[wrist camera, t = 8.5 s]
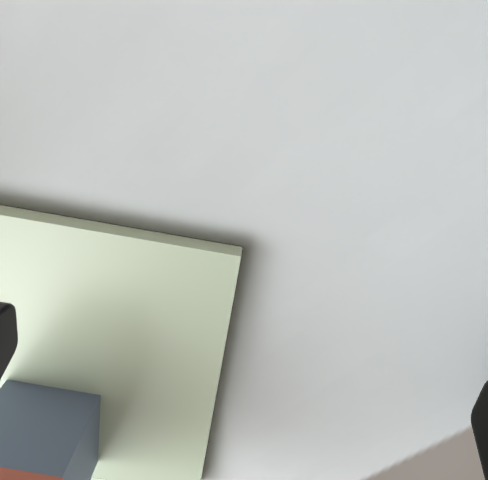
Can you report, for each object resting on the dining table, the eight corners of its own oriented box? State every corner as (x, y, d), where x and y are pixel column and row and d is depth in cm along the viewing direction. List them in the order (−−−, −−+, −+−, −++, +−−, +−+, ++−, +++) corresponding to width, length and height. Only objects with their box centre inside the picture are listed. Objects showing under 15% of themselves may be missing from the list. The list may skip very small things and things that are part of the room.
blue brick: (101, 395, 25) (61, 478, 20) (98, 460, 27) (61, 549, 22) (7, 379, 25) (-54, 459, 20) (11, 446, 27) (-43, 532, 22)
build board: (242, 247, 22) (241, 256, 21) (200, 480, 28) (198, 495, 27) (-36, 198, 22) (-50, 206, 21) (-12, 445, 28) (-22, 459, 27)
